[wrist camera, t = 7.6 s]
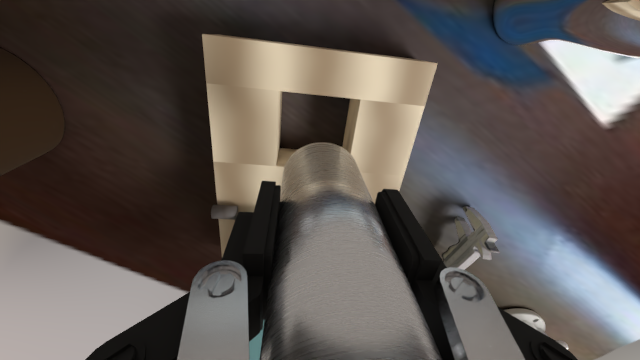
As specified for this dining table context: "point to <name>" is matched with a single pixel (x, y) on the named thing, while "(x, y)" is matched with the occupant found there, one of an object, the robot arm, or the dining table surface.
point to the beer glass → (571, 23)
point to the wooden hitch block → (309, 78)
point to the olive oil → (26, 114)
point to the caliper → (470, 241)
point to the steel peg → (337, 270)
